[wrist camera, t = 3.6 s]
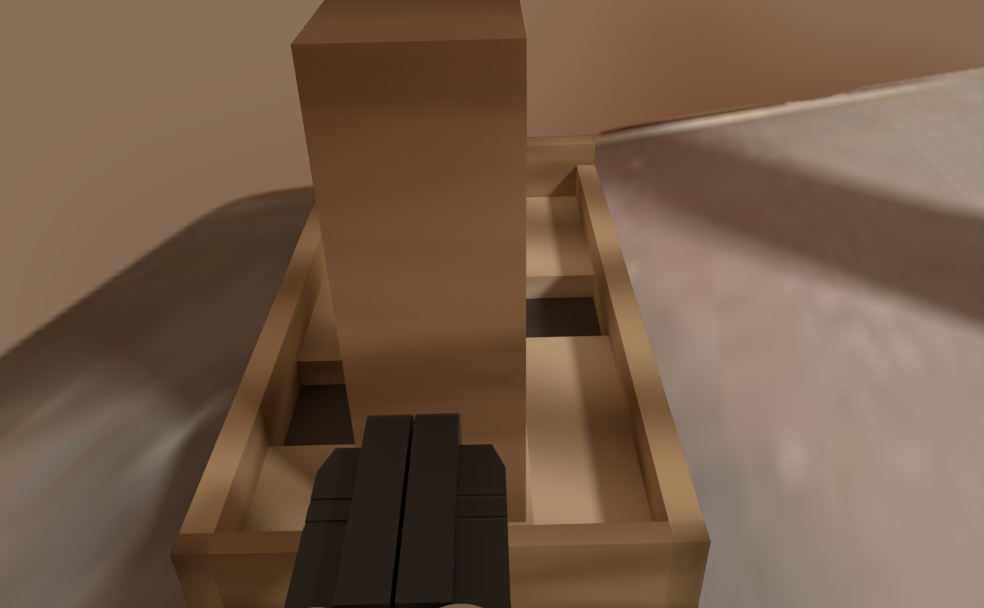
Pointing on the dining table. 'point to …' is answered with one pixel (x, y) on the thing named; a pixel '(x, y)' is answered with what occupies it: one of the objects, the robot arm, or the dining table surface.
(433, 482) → the robot arm
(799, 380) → the dining table surface
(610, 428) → the tray
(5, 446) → the dining table surface
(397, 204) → the walnut block
